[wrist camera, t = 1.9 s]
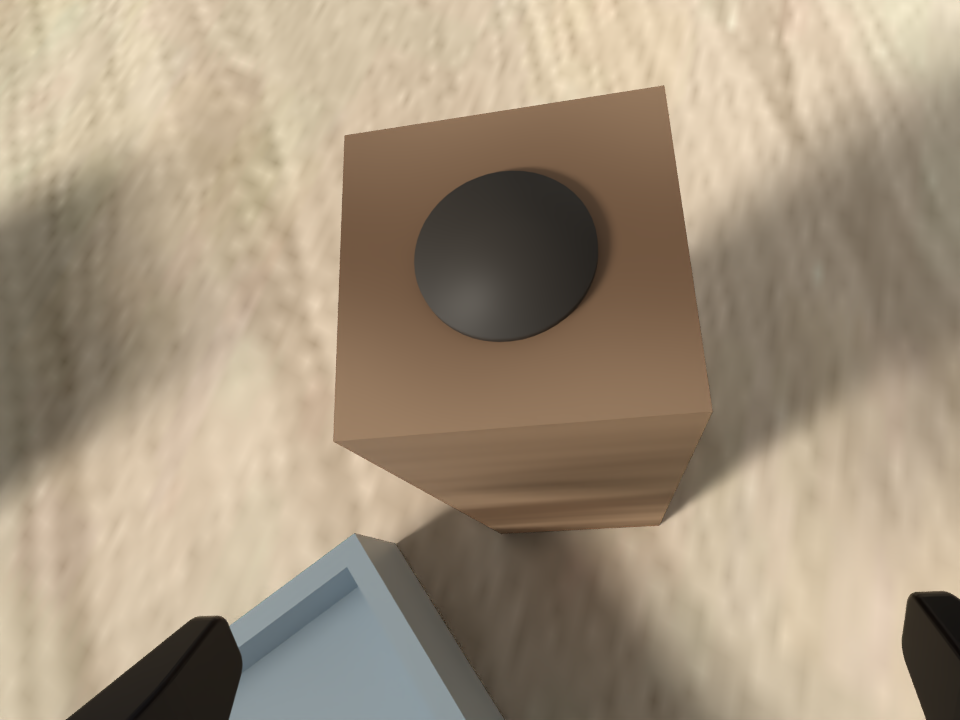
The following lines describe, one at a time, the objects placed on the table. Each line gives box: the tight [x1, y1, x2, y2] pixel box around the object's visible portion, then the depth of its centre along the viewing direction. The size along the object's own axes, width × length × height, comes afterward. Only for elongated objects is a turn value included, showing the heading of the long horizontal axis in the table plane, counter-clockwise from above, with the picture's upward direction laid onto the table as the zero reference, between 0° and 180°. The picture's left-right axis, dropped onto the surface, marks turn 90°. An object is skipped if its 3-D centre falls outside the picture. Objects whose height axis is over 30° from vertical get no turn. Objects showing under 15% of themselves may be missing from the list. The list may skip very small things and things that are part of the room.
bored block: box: [333, 86, 713, 534], centre depth 15 cm, size 5×5×13 cm
